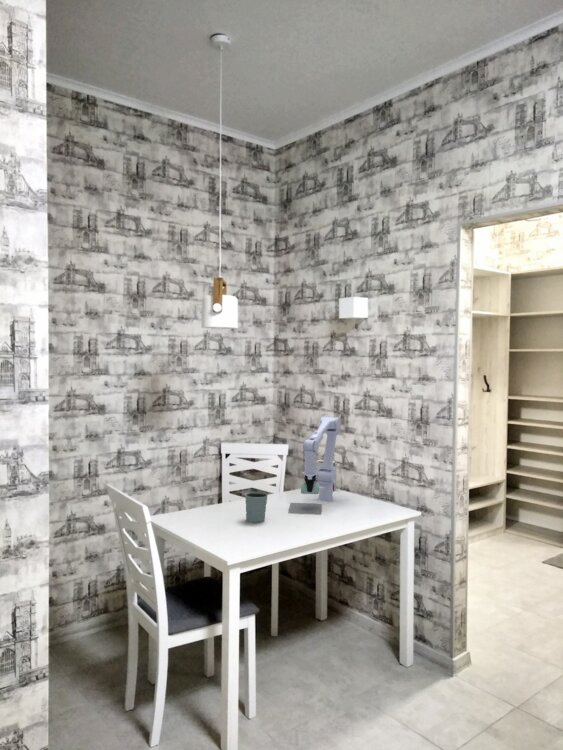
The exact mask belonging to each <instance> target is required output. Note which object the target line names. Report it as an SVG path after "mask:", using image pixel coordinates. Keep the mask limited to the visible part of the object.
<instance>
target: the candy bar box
mask: <svg viewBox="0 0 563 750" xmlns="http://www.w3.org/2000/svg"><path fill="white" fill-rule="evenodd" d="M323 460H324V459H316V473H317V470H318V467H319V466H321V465H322V464H323ZM332 466H333V467H334V468H335V469H336V470H337V460H333V463H332ZM323 471H328V470H323ZM331 472H332V471H331ZM315 482H316V483H318V481H317V480H315ZM335 489H336V490H337V480H336V481H335V483H334V484H333V492H334V491H336V490H335Z"/></svg>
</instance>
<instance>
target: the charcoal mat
mask: <svg viewBox="0 0 563 750" xmlns="http://www.w3.org/2000/svg"><path fill="white" fill-rule="evenodd" d="M322 505H323V504H322V503H310V502H309V503H307V502H290V503H289V508H288V511H287V512H288V513H287V514H295V515H315V516H316V515H318V516H321V515H322V510H323V509H322Z"/></svg>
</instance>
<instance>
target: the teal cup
mask: <svg viewBox="0 0 563 750" xmlns="http://www.w3.org/2000/svg"><path fill="white" fill-rule="evenodd" d="M267 501H268V494H267V493H265V492H260V491H259V492H258V491H256V492H254V491H251V492H247V493H245V505H246V506H245V513H246V514H245V515H246V516H245V520H246V522H247V521H248V522H247V523H250V522H252V523H251V524H261V523H264V522H265V520H266V511H267V503H268V502H267Z"/></svg>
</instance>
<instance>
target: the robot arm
mask: <svg viewBox="0 0 563 750" xmlns="http://www.w3.org/2000/svg"><path fill="white" fill-rule="evenodd" d="M341 425H342V422H341V419H340V418H339V417H334V416H333V417H331V416H324V415H323V416H321V418H320V420H319V427H317V430H314V431H313V433H311V435H310V436H309V438H308V439H306V440H304V441H303V444H302V449H303V454H304V471H302V473H301V474H302V475H304V479H303V480H304V482H306V485H307V491H308V492H312V490H313V484H314V482H316V480H317V481H318V483H319V487H324V490H319V494H318V496H317V501H318V502H334V496H333V495H334V494H333V492H334V491H333V484H334V483H335V481H336V482H337V468H336V469H335V468H334V467H333V466H332V463H333V461H334V456H335V449H336V443H337V435H339V434H340V431H341ZM324 434H326V440H325V447H324V455H323V459H322V460H323V464H322V465H321V466H319V467H318V470H317V473H316V461H317V452H318V451H319V448H320V443H321V442H322V440H323V439H324ZM323 470H328V471H323ZM331 471H332V472H331Z"/></svg>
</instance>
